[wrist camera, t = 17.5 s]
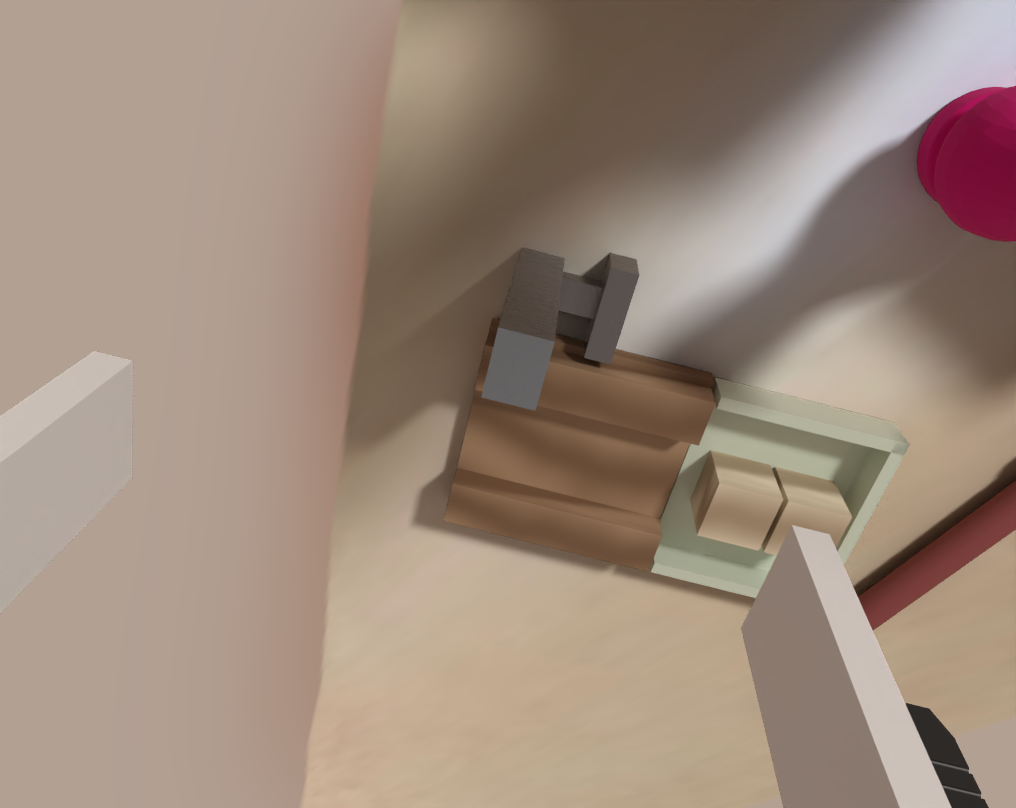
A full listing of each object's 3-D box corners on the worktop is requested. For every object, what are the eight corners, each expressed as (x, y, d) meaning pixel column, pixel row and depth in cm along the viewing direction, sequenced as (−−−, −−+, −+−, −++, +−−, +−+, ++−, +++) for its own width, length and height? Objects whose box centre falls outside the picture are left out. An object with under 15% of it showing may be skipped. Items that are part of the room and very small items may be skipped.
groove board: (492, 318, 49) (486, 337, 46) (711, 373, 49) (718, 395, 46) (450, 499, 55) (442, 526, 52) (643, 547, 55) (646, 577, 53)
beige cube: (710, 450, 51) (719, 483, 47) (770, 465, 51) (783, 499, 47) (690, 499, 53) (697, 535, 49) (747, 514, 53) (758, 550, 49)
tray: (715, 377, 49) (721, 397, 47) (894, 422, 49) (910, 444, 47) (648, 546, 55) (650, 572, 53) (807, 586, 56) (817, 613, 53)
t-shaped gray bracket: (525, 231, 46) (503, 306, 35) (636, 259, 46) (650, 344, 35) (504, 318, 49) (476, 415, 37) (609, 345, 49) (614, 450, 37)
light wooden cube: (775, 466, 51) (788, 501, 48) (834, 481, 51) (852, 517, 48) (752, 515, 53) (763, 552, 49) (809, 530, 53) (825, 567, 49)
